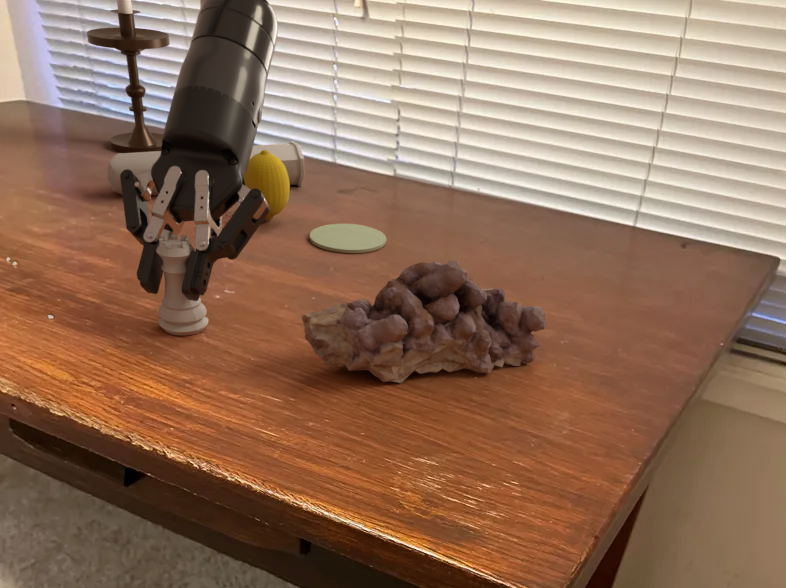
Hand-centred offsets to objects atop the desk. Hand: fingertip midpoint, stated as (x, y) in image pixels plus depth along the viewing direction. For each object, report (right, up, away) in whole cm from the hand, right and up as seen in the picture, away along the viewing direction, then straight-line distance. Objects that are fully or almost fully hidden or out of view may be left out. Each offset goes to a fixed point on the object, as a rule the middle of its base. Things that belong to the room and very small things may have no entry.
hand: (169, 292), depth 71 cm
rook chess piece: (0, -2, +4) cm, 5 cm away
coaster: (+14, +14, +25) cm, 32 cm away
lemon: (+4, +17, +28) cm, 33 cm away
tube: (-5, +25, +36) cm, 44 cm away
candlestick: (-19, +37, +51) cm, 65 cm away
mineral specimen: (+22, -6, +1) cm, 23 cm away
